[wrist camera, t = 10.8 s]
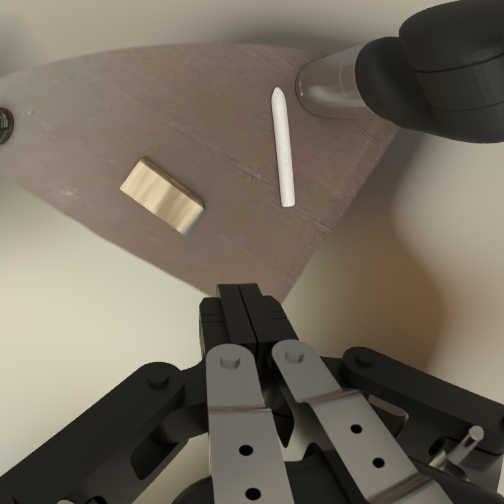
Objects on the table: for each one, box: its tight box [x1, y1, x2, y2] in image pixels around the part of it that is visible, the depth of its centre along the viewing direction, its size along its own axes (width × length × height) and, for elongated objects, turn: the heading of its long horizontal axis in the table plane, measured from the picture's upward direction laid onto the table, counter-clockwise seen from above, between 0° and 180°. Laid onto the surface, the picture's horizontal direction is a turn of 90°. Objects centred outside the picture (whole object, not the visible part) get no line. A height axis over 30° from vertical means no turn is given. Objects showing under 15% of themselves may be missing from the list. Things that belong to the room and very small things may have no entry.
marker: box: [271, 87, 295, 207], centre depth 44 cm, size 18×2×2 cm, turn 7°
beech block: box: [120, 158, 206, 235], centre depth 42 cm, size 4×4×11 cm
